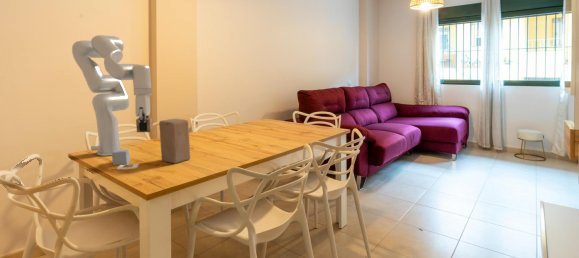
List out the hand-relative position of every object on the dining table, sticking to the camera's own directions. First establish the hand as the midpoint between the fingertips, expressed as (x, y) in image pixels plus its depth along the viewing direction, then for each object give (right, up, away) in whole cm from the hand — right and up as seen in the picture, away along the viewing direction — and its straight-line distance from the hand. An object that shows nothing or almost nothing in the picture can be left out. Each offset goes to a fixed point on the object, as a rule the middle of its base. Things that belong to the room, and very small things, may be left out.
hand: (144, 129), depth 154 cm
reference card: (-4, -18, -7) cm, 19 cm away
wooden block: (+14, -16, +4) cm, 21 cm away
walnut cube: (0, -1, 0) cm, 1 cm away
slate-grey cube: (-11, -16, 0) cm, 20 cm away
